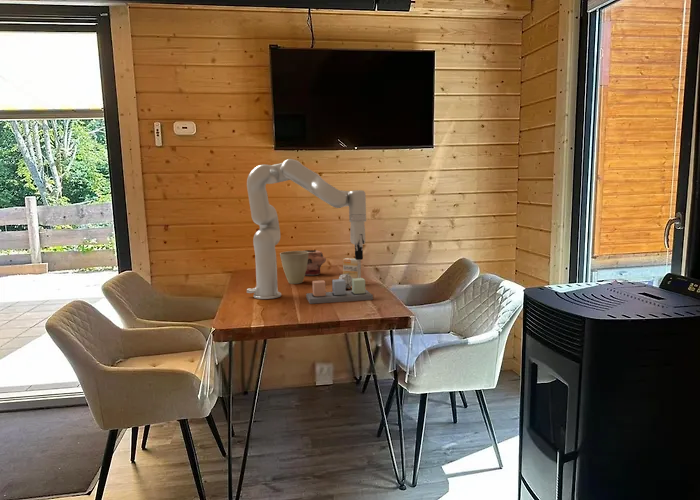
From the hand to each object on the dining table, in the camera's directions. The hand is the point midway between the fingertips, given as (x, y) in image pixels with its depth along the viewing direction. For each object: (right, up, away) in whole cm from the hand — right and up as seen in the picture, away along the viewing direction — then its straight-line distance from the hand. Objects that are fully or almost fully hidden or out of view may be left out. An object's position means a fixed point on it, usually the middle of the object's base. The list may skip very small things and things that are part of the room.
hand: (359, 259), depth 220 cm
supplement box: (-3, -13, +33) cm, 36 cm away
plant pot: (-33, -13, +39) cm, 53 cm away
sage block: (0, -15, +2) cm, 15 cm away
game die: (-6, -15, +20) cm, 26 cm away
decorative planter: (-28, -10, +61) cm, 68 cm away
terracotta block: (-18, -16, -2) cm, 24 cm away
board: (-9, -18, 0) cm, 20 cm away
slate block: (-9, -15, 0) cm, 18 cm away
